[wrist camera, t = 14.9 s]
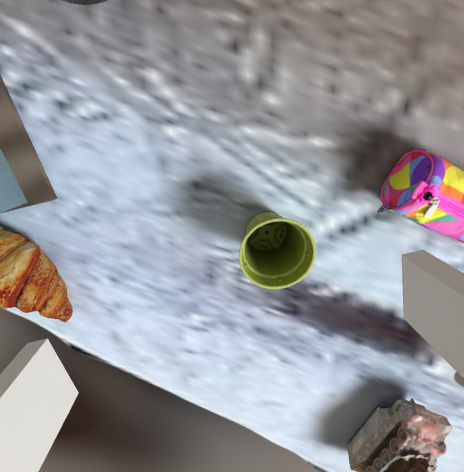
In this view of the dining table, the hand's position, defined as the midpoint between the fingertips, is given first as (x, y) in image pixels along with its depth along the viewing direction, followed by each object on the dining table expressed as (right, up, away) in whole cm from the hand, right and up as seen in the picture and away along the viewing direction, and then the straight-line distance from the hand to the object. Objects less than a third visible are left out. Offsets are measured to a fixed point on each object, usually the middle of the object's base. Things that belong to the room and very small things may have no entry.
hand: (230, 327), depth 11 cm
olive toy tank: (+29, -33, +48) cm, 65 cm away
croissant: (-31, 0, +32) cm, 44 cm away
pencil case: (+31, +8, +33) cm, 46 cm away
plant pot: (+5, +4, +33) cm, 34 cm away
